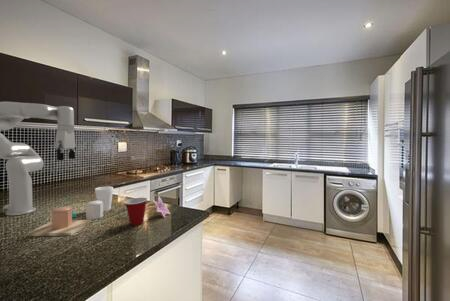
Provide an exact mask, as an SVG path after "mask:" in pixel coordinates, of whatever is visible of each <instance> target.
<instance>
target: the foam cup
mask: <svg viewBox="0 0 450 301" xmlns="http://www.w3.org/2000/svg"><path fill="white" fill-rule="evenodd" d="M113 192H114V187H113V186H99V187H95V188H94V193H95V198H96V200H95V201H102V203H103V212H107V211H109V210H110V211H111V207H112V200H113Z"/></svg>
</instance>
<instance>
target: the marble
mask: <svg viewBox="0 0 450 301" xmlns="http://www.w3.org/2000/svg"><path fill="white" fill-rule="evenodd" d="M75 217H77V212H76V211H73V210H72V219H73V218H75Z"/></svg>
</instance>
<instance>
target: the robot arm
mask: <svg viewBox="0 0 450 301" xmlns="http://www.w3.org/2000/svg"><path fill="white" fill-rule="evenodd" d="M31 118H33V119H34V118H35V119H43V120H44V119H45V120H51V121H52V120H53V121H57V124H56V125H57V131H56V134H55V143H54V144H53V146H54V149H55V152H56V161H64V160H65V152H64V151H65V150H68V159H69V160H75V159H76V150H77V143H76V139H75V138H76V136H75V110H74V108H73V107H71V106H67V105H60V106H59V105H58V106H54V105H49V104H43V103H34V102H33V103H31V102H18V101H0V131H8V130H11V129H14V128H15V127H16V126H17V125H19V123H21V122H23V120H24V119H31ZM0 159H2V160H7V161H6V163H5V170H6V172H7V176H8V197H9V198H8V199H9V200H8V202H9V203H8V204H5V205H4V206H3V207H2V209H3V210H7V211H6V212H5V216H10V217H11V216H12V217H13V216H20V215H25V214H26V215H27V214H31V213H33V212H35V211H37V208H36V207H34V206H33V179H32V177H31V175H30V174H29V173H32V172H38V171H40V170H42V169H43V168H44V165H45V164H44V160H43V158H42V157H41V156H40V155H39V154H38V153H37V152H36V151H35V150H34V149H33V148H32V146H30V145H29V144H27V143H24V142H15V141H11V140H9V139H8V138H7V137H6V136H5V135H4V134H3V133H1V132H0Z"/></svg>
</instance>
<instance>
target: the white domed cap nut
mask: <svg viewBox="0 0 450 301" xmlns="http://www.w3.org/2000/svg"><path fill="white" fill-rule="evenodd" d="M103 217H104V211H103V203H102V201H97V200H91V201H87V202H86V204H85V220H91V221H93V220H94V221H95V220H98V219H101V218H103Z"/></svg>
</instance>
